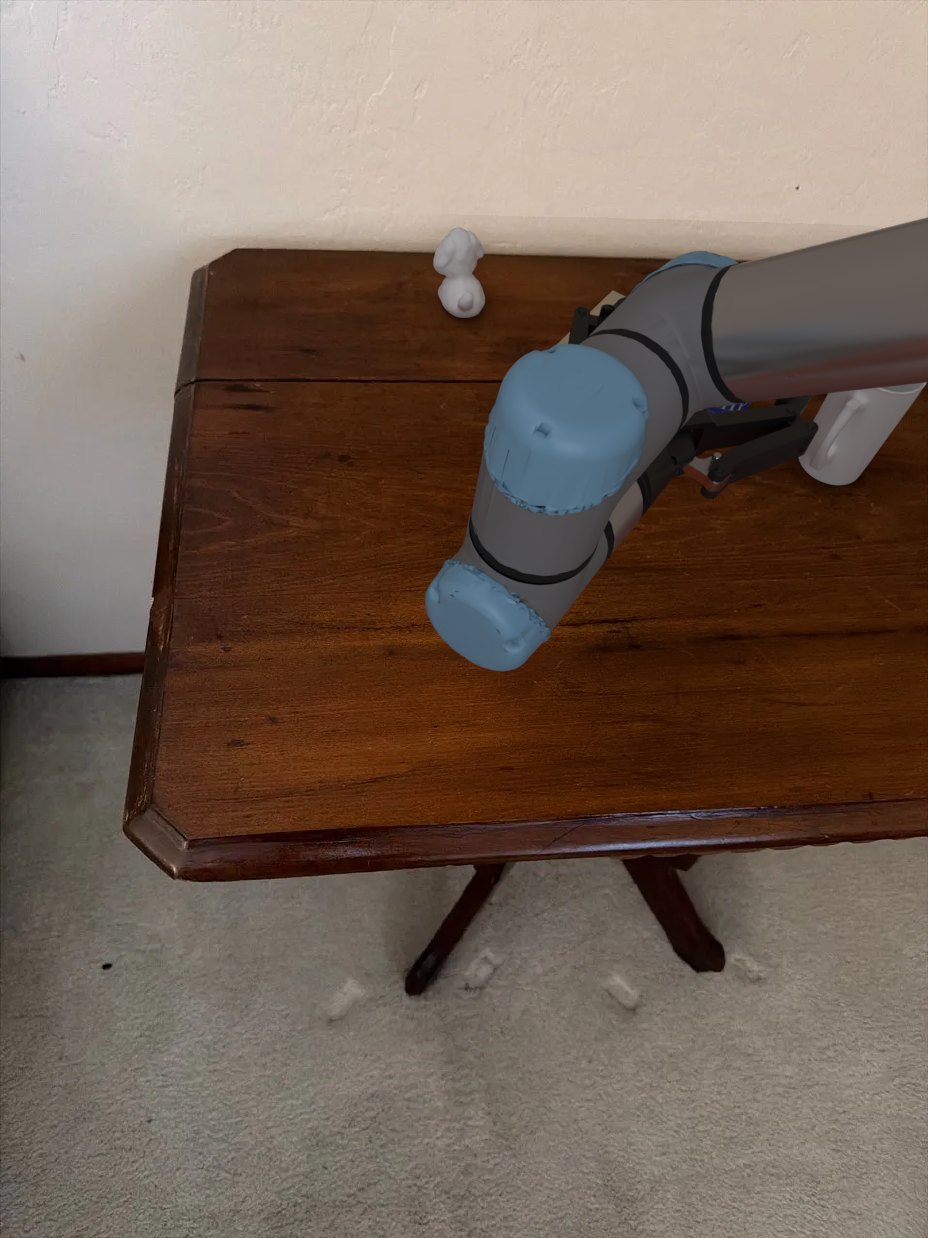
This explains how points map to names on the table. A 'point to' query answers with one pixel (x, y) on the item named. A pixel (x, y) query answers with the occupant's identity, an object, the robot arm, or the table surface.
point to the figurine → (460, 273)
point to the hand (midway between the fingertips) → (732, 326)
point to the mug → (854, 430)
